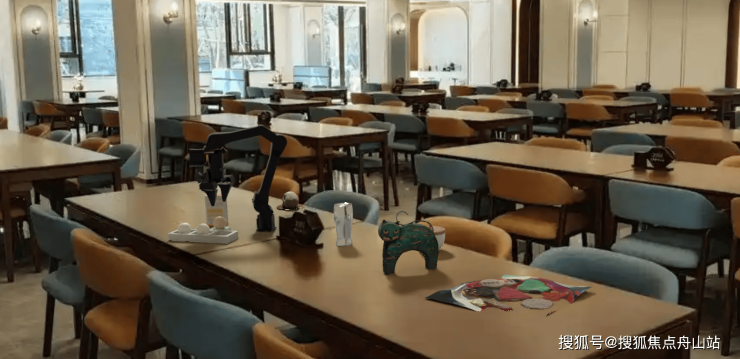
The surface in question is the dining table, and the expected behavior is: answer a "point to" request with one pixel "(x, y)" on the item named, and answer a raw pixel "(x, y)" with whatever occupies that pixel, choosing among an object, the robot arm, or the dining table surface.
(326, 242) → the dining table surface
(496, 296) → the platter
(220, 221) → the brown egg
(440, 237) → the lidded jar
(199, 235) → the carton
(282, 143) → the robot arm
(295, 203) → the skull
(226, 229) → the egg stand
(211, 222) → the supplement box
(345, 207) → the beer glass
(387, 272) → the ceramic cat
